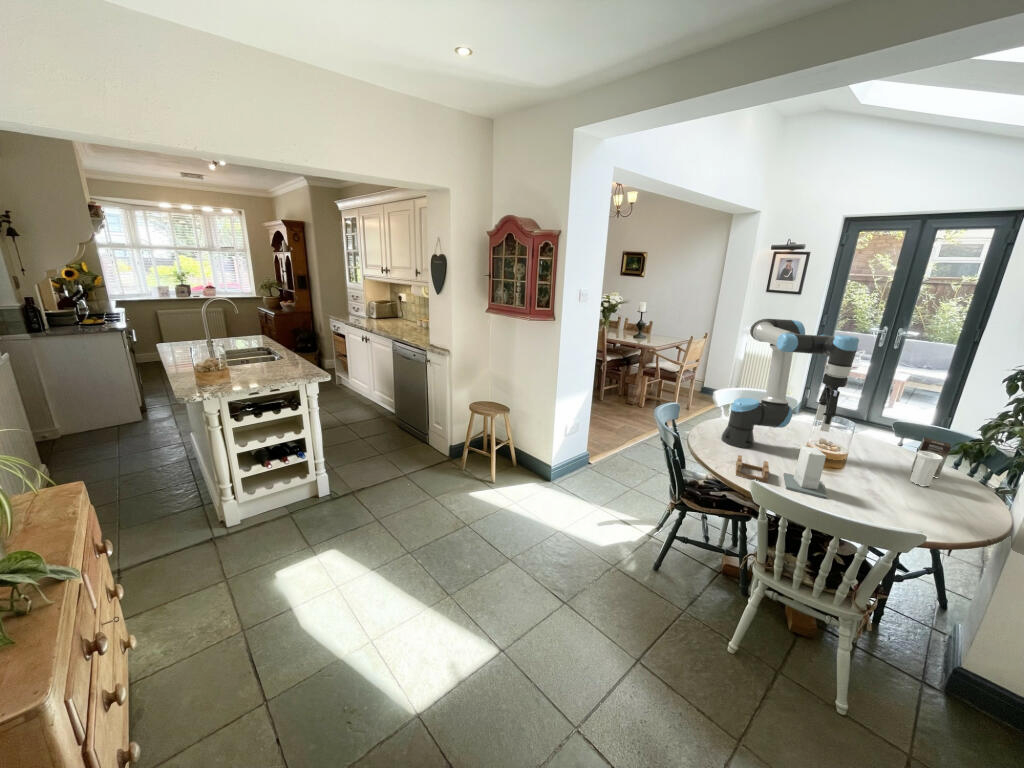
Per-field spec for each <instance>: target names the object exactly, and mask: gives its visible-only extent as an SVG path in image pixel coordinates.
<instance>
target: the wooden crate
mask: <svg viewBox="0 0 1024 768" xmlns="http://www.w3.org/2000/svg"><path fill="white" fill-rule="evenodd" d="M742 468H746V469H751V470H755V471H758V472H761V476H757V475H754V474H751V473H746V472H743V471H742ZM735 474H736V475H735V476H737V475H738V477H741V476H743V477H742V478H745V477H747V478H746V479H749V478H750V480H753V479H756V480H755V481H757V480H759V481H758V482H762V483H765V484H767V483H768V479H769V476H770V475H769V474H770V467H769V461H766V460H764V461H763V464H762V466H757V465H753V464H750V463H745V462H743V456H742V455H740V454H738V455H737V458H736V463H735Z"/></svg>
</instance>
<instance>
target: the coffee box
mask: <svg viewBox="0 0 1024 768" xmlns="http://www.w3.org/2000/svg"><path fill="white" fill-rule="evenodd" d="M951 449H952V445H951V443H948V442H945V441H940V440H937V439H934V438H929V437H923V438H922V441H921V443H920V445H919V447H918V450H917V452H918V451H927V452H932V453H935V454H938V455H940V456H942V457H943V460H942V461H941V462H940V464H939V466H938V468H937V470H936V472H935V474H934V476H935V477H939V478H940V475H941V473H942V470H943V468H944V465H945V463H946V460H947V458H948V455H949V453H950V451H951ZM916 459H917V454H916V456H915V458H914V460H913V463H912V465H911V467H912V470H911V472H912V471H913V469H914V466H915V463H916Z"/></svg>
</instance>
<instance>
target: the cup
mask: <svg viewBox="0 0 1024 768" xmlns="http://www.w3.org/2000/svg"><path fill="white" fill-rule="evenodd" d="M916 455H917V459H916V463H915V466H914V469H913V472H912V471H911V472H912V473H911V476H910V479H909V482H911V481H912V482H914V483H916V484H920V485H924V486H930V485H931V483H932V481H933V479H934V478H933V476H934V474H935V472H936V470H937V468H938V466H939V464H940V462H941V461H942V460H943V457H942V456H940V455H938V454H935V453H932V452H927V451H918V450H917V452H916ZM912 482H911V483H912ZM914 483H913V484H914ZM916 484H915V485H916Z"/></svg>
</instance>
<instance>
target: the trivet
mask: <svg viewBox="0 0 1024 768" xmlns="http://www.w3.org/2000/svg"><path fill="white" fill-rule="evenodd" d="M782 474H783V481H784V485H785V490H788V491H793V492H797V493H800V494H805V495H809V496H813V497H816V498H817V497H818V498H821V499H824V500H827V498H828V495H827V492H826V490H825V487H824V485H823V481H822V480H820V482H819V485H818V489H809V488H803V487H801V486H800V485H799V484H798V483H797V482H796V481H795V479H794V475H795V474H792V473H786V472H783V473H782Z"/></svg>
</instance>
